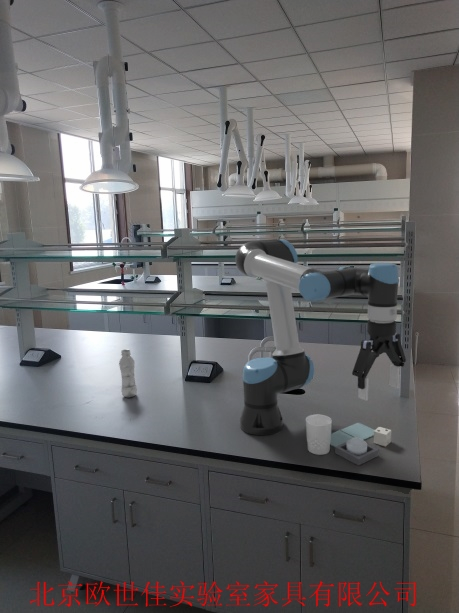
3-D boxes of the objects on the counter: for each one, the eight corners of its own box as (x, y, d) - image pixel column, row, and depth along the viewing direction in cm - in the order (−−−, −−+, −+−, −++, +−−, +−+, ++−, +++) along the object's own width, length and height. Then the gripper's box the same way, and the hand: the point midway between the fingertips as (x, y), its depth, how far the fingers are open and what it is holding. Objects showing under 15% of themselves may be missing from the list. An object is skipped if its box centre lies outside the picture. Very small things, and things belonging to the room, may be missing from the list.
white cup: (328, 442, 142) (328, 413, 141) (334, 455, 135) (334, 424, 133) (303, 444, 142) (303, 414, 140) (308, 456, 135) (308, 426, 133)
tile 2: (340, 430, 150) (340, 429, 150) (358, 423, 155) (358, 422, 155) (361, 441, 143) (361, 440, 143) (379, 432, 147) (379, 432, 147)
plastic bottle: (122, 400, 184) (117, 353, 180) (121, 394, 190) (117, 349, 186) (138, 398, 185) (134, 352, 181) (136, 392, 192) (133, 347, 188)
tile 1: (319, 439, 145) (319, 438, 145) (339, 431, 150) (339, 430, 150) (340, 450, 138) (340, 449, 137) (360, 441, 142) (360, 440, 142)
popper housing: (335, 452, 136) (335, 446, 136) (355, 443, 141) (355, 438, 141) (358, 465, 129) (358, 459, 128) (378, 455, 134) (378, 449, 133)
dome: (342, 451, 136) (342, 437, 135) (355, 445, 139) (355, 431, 138) (357, 459, 131) (358, 445, 130) (371, 453, 134) (371, 438, 133)
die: (373, 442, 141) (373, 430, 140) (378, 438, 144) (379, 426, 143) (385, 446, 139) (386, 434, 138) (390, 441, 141) (391, 429, 141)
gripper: (362, 330, 112) (360, 408, 116) (421, 315, 125) (417, 386, 130) (339, 324, 118) (338, 399, 122) (398, 311, 131) (395, 378, 136)
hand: (378, 392), depth 126 cm, fingers open, 13 cm apart
